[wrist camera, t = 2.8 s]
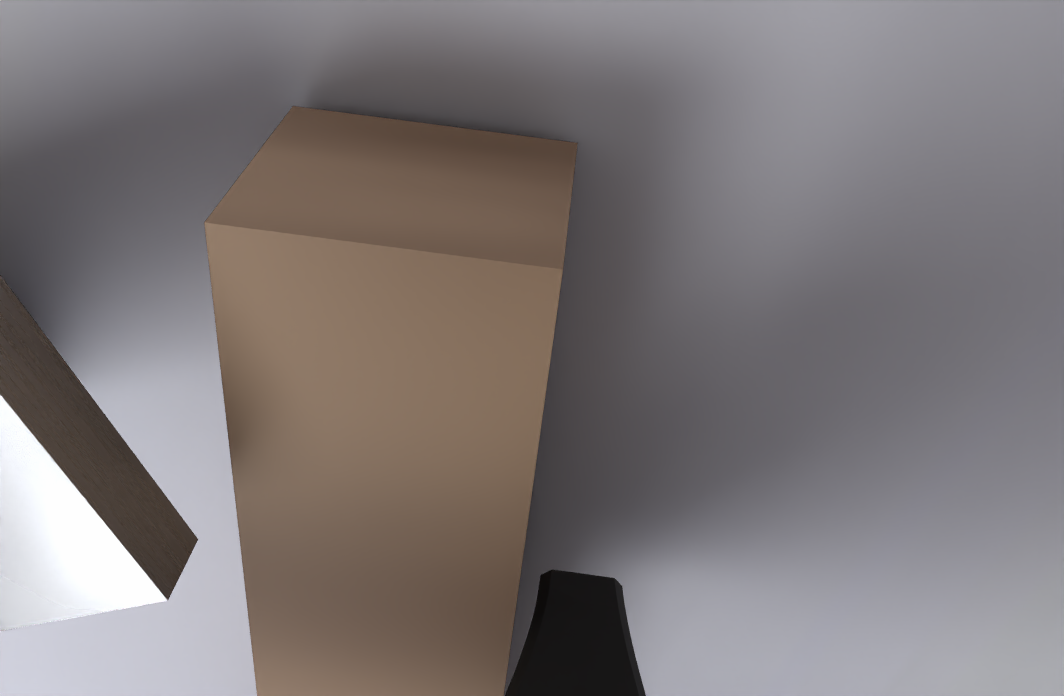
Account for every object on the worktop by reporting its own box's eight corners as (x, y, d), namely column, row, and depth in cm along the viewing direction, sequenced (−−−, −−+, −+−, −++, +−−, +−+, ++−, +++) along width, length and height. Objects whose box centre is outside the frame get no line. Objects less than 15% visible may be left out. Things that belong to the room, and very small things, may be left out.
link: (493, 800, 16) (469, 998, 14) (318, 776, 16) (264, 970, 14) (587, 144, 9) (572, 313, 7) (282, 105, 9) (161, 260, 7)
